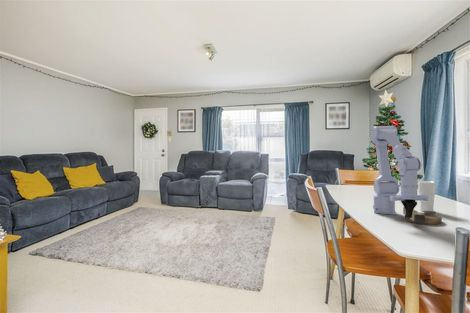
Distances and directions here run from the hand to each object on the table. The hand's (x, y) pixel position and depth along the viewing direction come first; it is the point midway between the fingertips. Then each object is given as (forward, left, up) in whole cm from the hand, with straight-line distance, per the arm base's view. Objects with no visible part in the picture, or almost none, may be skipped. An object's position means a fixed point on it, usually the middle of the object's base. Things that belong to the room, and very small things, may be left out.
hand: (409, 217), depth 101 cm
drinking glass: (+11, +27, -3) cm, 30 cm away
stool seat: (+6, +8, -3) cm, 11 cm away
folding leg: (+2, +3, -1) cm, 3 cm away
